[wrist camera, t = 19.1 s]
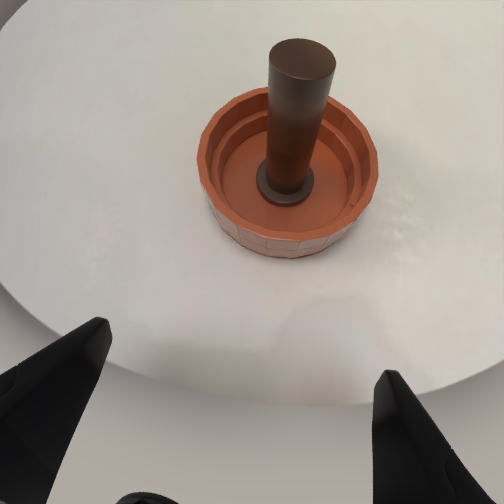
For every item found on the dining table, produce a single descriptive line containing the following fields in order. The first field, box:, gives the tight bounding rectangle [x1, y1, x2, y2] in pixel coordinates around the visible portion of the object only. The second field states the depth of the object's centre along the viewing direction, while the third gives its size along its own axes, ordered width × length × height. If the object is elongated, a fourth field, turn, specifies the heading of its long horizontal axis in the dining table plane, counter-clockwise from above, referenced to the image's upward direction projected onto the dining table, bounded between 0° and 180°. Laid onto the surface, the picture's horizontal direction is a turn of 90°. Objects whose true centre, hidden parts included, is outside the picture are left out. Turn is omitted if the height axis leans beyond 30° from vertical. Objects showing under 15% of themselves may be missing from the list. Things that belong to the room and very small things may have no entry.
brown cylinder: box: [256, 38, 336, 207], centre depth 19 cm, size 4×4×13 cm
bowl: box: [197, 87, 378, 258], centre depth 23 cm, size 12×12×5 cm
